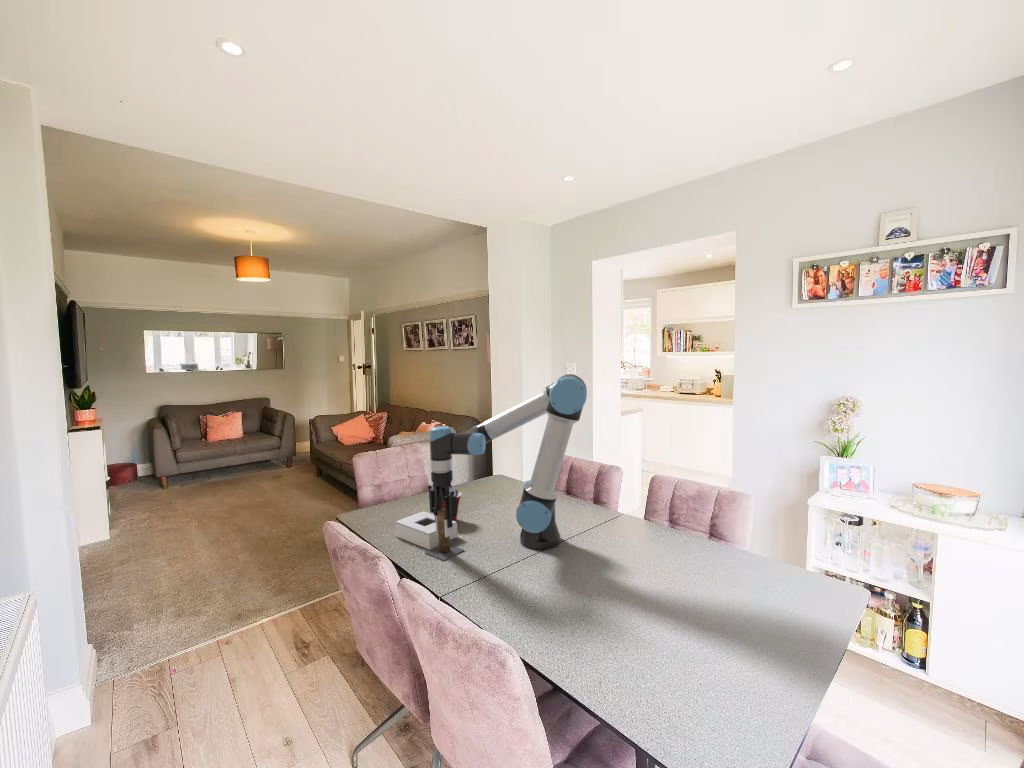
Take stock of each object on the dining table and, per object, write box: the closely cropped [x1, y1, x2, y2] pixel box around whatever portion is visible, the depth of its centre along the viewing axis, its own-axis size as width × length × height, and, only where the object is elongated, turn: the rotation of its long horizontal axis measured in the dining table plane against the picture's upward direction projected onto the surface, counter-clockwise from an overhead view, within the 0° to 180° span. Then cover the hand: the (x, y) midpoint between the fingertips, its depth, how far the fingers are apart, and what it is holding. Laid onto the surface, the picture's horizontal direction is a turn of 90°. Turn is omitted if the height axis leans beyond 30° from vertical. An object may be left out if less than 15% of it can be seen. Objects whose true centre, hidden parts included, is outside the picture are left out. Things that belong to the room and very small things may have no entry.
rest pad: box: [424, 544, 466, 562], centre depth 169 cm, size 10×10×1 cm
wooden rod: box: [437, 509, 451, 554], centre depth 168 cm, size 4×4×15 cm
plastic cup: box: [441, 491, 463, 522], centre depth 198 cm, size 11×11×12 cm
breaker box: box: [394, 510, 458, 551], centre depth 182 cm, size 20×14×6 cm
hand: (443, 534), depth 168 cm, fingers closed on wooden rod, 4 cm apart
